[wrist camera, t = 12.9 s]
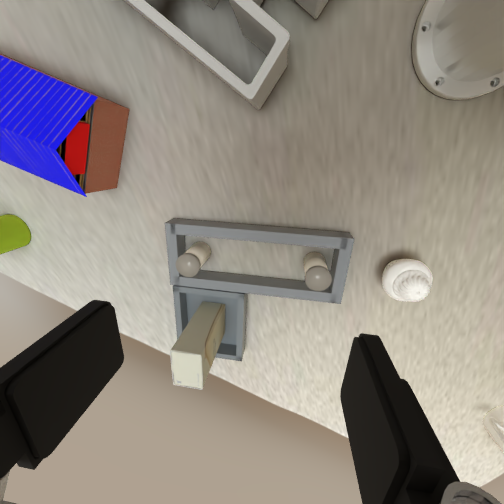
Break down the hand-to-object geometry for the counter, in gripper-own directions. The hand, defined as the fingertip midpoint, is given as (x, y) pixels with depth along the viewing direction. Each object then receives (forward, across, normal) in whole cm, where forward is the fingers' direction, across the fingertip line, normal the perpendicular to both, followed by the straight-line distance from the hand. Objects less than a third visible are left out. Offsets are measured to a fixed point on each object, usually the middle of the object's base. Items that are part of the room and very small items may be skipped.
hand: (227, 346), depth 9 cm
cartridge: (+28, -7, +8) cm, 30 cm away
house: (+29, +32, -10) cm, 44 cm away
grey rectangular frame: (+28, +2, +8) cm, 29 cm away
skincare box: (+28, +9, +20) cm, 35 cm away
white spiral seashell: (+28, -19, +8) cm, 35 cm away
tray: (+28, +9, +20) cm, 36 cm away
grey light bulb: (+28, +11, +8) cm, 31 cm away
